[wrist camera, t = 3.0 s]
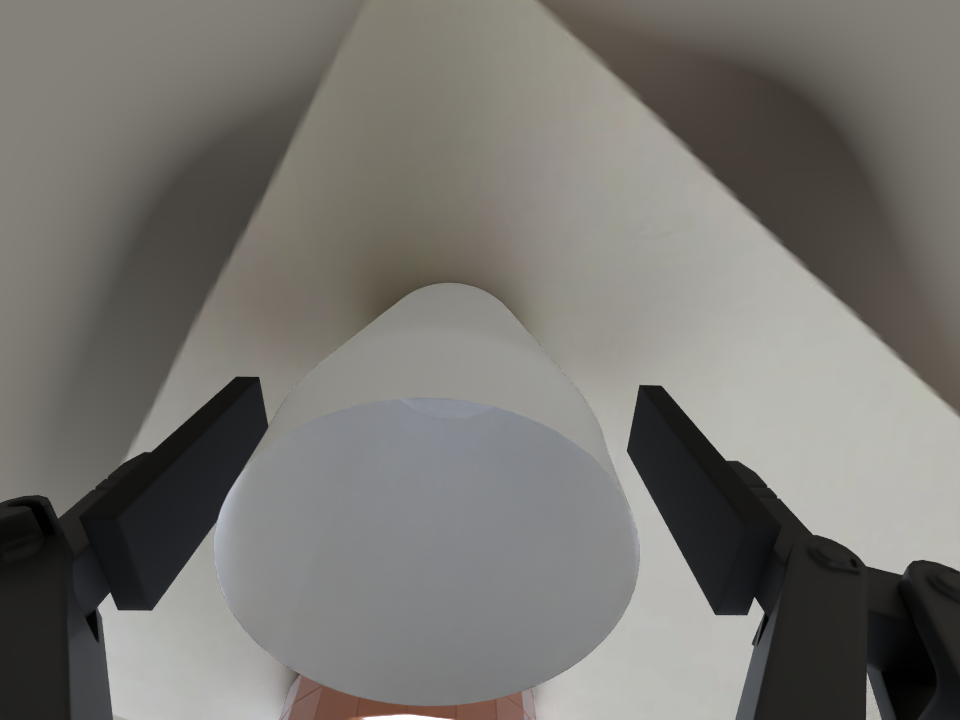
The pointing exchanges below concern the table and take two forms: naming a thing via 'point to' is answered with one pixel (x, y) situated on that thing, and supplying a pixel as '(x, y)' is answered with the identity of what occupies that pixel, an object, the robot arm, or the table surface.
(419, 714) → the bowl
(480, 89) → the table surface
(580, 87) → the table surface
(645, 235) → the table surface
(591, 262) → the table surface
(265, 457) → the cup
